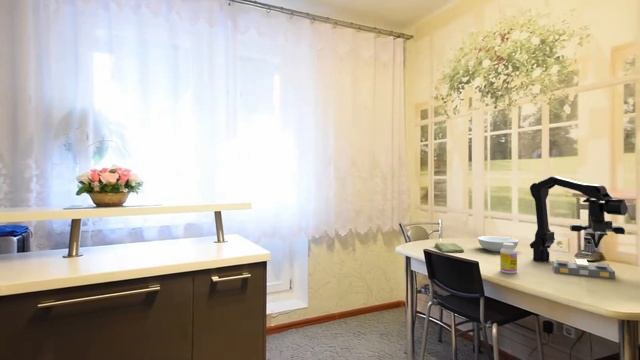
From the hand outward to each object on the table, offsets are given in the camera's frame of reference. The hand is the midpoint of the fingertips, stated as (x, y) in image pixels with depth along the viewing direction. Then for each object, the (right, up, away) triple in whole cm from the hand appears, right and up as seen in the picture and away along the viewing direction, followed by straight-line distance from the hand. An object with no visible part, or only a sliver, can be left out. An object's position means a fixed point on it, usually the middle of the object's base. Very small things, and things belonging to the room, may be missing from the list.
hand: (596, 248), depth 155 cm
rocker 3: (-1, -7, -4) cm, 8 cm away
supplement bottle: (-38, -12, +3) cm, 39 cm away
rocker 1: (-13, -7, +3) cm, 15 cm away
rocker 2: (-7, -7, -1) cm, 9 cm away
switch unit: (-7, -11, -1) cm, 13 cm away
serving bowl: (-20, -11, +47) cm, 52 cm away
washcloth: (-47, -12, +51) cm, 70 cm away
